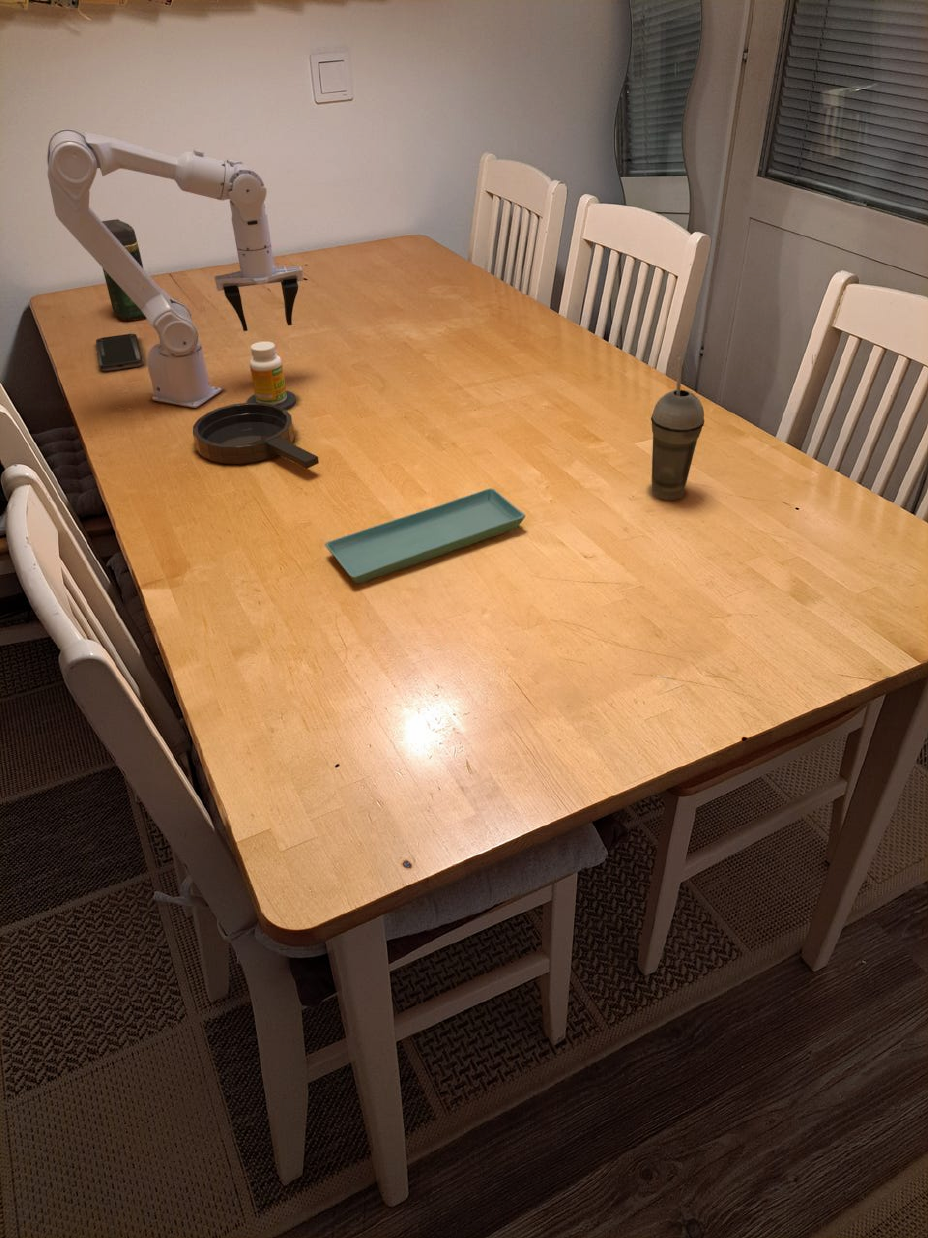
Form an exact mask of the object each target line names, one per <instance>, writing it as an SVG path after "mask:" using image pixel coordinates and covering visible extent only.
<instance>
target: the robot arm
mask: <svg viewBox="0 0 928 1238" xmlns="http://www.w3.org/2000/svg"><path fill="white" fill-rule="evenodd" d="M46 169H47V172H46V173H47V179H48V183H49V188H50V194H51V198H52V205H53V210H54V212H55V213H54V214H55V217H57V219H58V221H59V222H60V223H61V225H63V226H64V227H65V228H66V229H67V231H68V232H69V233H70V234H71V235H72V236H73V237H74V238H75V240H77V242H78V243H79V244H80V245H81V246H82V247H83V248H84V249H85V250H86V251H87V252H88V254H89V255H90V256H91V257H92V258H93V259H94V260H95V261H96V263H97V264H98V265H99V266H100V267H101V268H102V270H103V269H104V270H105V271H106V272H107V273H108V274H109V275H110V277H111V278H112V279H113V280H114V281H115V282H116V283H117V284H118V285H119V286H120V288H121V289H122V290H123V291H124V292H125V293H126V294H127V295H128V296H129V297H130V299H131V300H132V301H133V302H134V303H135V304H136V305H137V306H138V307H139V308H140V310H141V311H142V312H143V314H144V315H145V317H144V318H145V319H146V320H147V322H148V323H149V324H150V326H151V327H152V328H153V329H154V330H155V331H156V334H157V336H158V339H159V343H155V344H154V345H153V346H151V347H150V349H149V351H148V354H147V359H146V365H147V369H148V373H149V378H150V381H151V385H152V390H153V393H154V395H153V396H152V397H151V399H152V401H154V402H155V401H156V402H160V403H167V404H170V405H171V404H172V405H176V406H182V407H187V408H193V409H197V408H199V407H200V406H201V405H203V404H204V403H206V402H208V401H209V400H210V399H212V398H213V397H214V396H216V395H217V394H219V393H220V392H222V388H221V387H219V386H213V385H210V380H209V375H208V370H207V364H206V359H205V356H204V351H203V345H202V341H201V340H200V339H199V337H200V336H199V332H198V328H197V326H196V325H195V323H194V322H193V318H192V315H191V312H190V310H189V308H188V307H187V306H186V305H185V304H183V303H181V302H179V301H177V300H175V299H173V298H172V297H171V296H170V295H169V294H168V292H166V291H165V290H164V289H163V288H161V287H160V286H159V285H158V284H157V283H156V282H155V281H154V280H153V278H152V277H151V276H150V275H149V274H148V272H146V270H145V269H143V268H144V267H143V268H142V267H141V266H140V265H139V263H138V262H137V261H136V260H135V259H134V258H133V257H132V255H131V254H130V253H129V252H128V251H127V250H126V249H125V247H124V246H123V245H122V244H121V243H120V242H119V241H118V239H117V238H116V237H115V236H114V235H113V234H112V233H111V231H110V230H109V229H108V228H107V227H106V226H105V225H104V223H103V222H102V221H103V220H101V219H100V218H99V216H98V215H97V214H96V213H95V212H94V211H93V209H91V208H90V193H91V192H90V190H91V188H92V185H93V183H94V181H95V178H96V175H97V172H98V169H99V170H100V173H101V176H102V177H105V176H107V175H110V174H112V173H113V172H116V171H117V170H120V169H121V170H128V171H132V172H137V173H142V174H146V175H151V176H155V177H160V178H166V179H170V180H173V181H174V182H175V183H176V185H177V186H178V188H179V189H180V190H181V191H182V192H186V193H190V194H194V195H198V196H201V197H206V198H210V199H213V200H218V201H227V200H229V206H230V211H231V224H232V229H233V236H234V242H235V246H236V252H237V258H238V263H239V268H240V269H239V270H238V271H233V272H229V273H224V274H218V275H214V282H215V284H216V286H215V287H216V291H217V292H220V291H223V293H224V296H225V298H226V299H227V301H228V302H229V303H230V305H231V307H232V308H233V310H234V312H235V313H236V315H237V318H238V319H239V322H240V324H241V327H242V330H243V332H248V324H247V321H246V317H245V313H244V308H243V302H242V297H241V292H240V288H242V287H243V288H244V287H251V286H261V285H269V284H275V283H280V284H281V290H282V296H283V301H284V315H285V320H286V324H287V326H292V325H293V322H292V321H293V309H294V304H295V300H296V297H297V294H298V291H299V284H298V282H303V281H304V274H303V268H302V267H301V265H296V266H276V265H275V259H274V253H273V247H272V240H271V233H270V228H269V227H270V226H269V221H268V220H269V219H268V215H267V214H266V204H265V201H266V197H267V187H265V184H264V181H263V179H262V178H261V176H259V174H258V173H257V172H256V171H255V170H254V169H253V168H252V167H251V166H250V165H247V164H245V163H243V162H242V161H234V160H233V159H231V158H226V160H222V159H218V158H214V157H212V156H207V155H204V152H203V150H202V149H198V148H193V151H189V150H185V151H184V152H182V153H180V154H178V155H177V156H175V155H174V156H173V155H170V154H167V153H163V152H160V151H157V150H154V149H150V148H147V147H144V146H140V145H137V144H134V143H131V142H128V141H124V140H121V139H117V138H114V137H112V136H106V135H102V134H98V133H95V132H86V131H84V132H83V133H81V132H79V131H78V130H75V129H72V128H62V129H59V130H57V131H56V132H54V133H53V135H51V137H50V139H49V141H48V146H47V155H46Z"/></svg>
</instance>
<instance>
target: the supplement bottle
mask: <svg viewBox="0 0 928 1238" xmlns="http://www.w3.org/2000/svg"><path fill="white" fill-rule="evenodd" d="M250 350H251V354H252V357H251V358H250V360H249V369H250V374H251V380H252V387H253V392H254V394H255V398H256V401H257V402H258V403H266V404H271V405H277V404H280V403H282V402H284V401H285V400H286V398H287V393H286V391H287V387H286V381H285V380H286V379H285V374H284V369H283V368H284V367H283V362H282V357H280V356H279V355H278V354H277V350H276V344H275V343H274V342H272V341H267V340H266V341H258V342H255V343H253V344H251V346H250Z"/></svg>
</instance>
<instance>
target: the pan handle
mask: <svg viewBox="0 0 928 1238" xmlns="http://www.w3.org/2000/svg"><path fill="white" fill-rule="evenodd" d="M266 445H267V449H269V450H271V451H273V452H274V453H276V454H278V455H279V456H281V457H282V458H284V459H287V460H288V461H289V462H292V463H294V464H296V465H297V466H300V467H302V468H304V469H306V470H308V469H310V468H312V467H314V466H316V465H319V463H320V462H319V456H318V455H315V454H313V453H312V452H310V451H308V450H306V449H305V448H302V447H299V446H298V445H296V444H294V443H293V442H292V443H290V442H288V441H286V440H284V439H282V438H280V437H277V438H274V439H272V440H270V441H268V442H266Z"/></svg>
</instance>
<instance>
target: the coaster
mask: <svg viewBox="0 0 928 1238" xmlns="http://www.w3.org/2000/svg"><path fill="white" fill-rule="evenodd" d="M286 393H287V398H286V400H285V401H284V402H282V403H280V404H277V405H276V406H279V407H281V408H283V409H285V410H286V411H287V410H289V409H291V408H293V407H294V406H295V405H296V403H297V397H296V395H295V393H293V392H291V391H289V390H286ZM246 403H258V402H257V401H256V398H255V393H254V394H252V395H251V396H249V397H248V399H247V401H246Z"/></svg>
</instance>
